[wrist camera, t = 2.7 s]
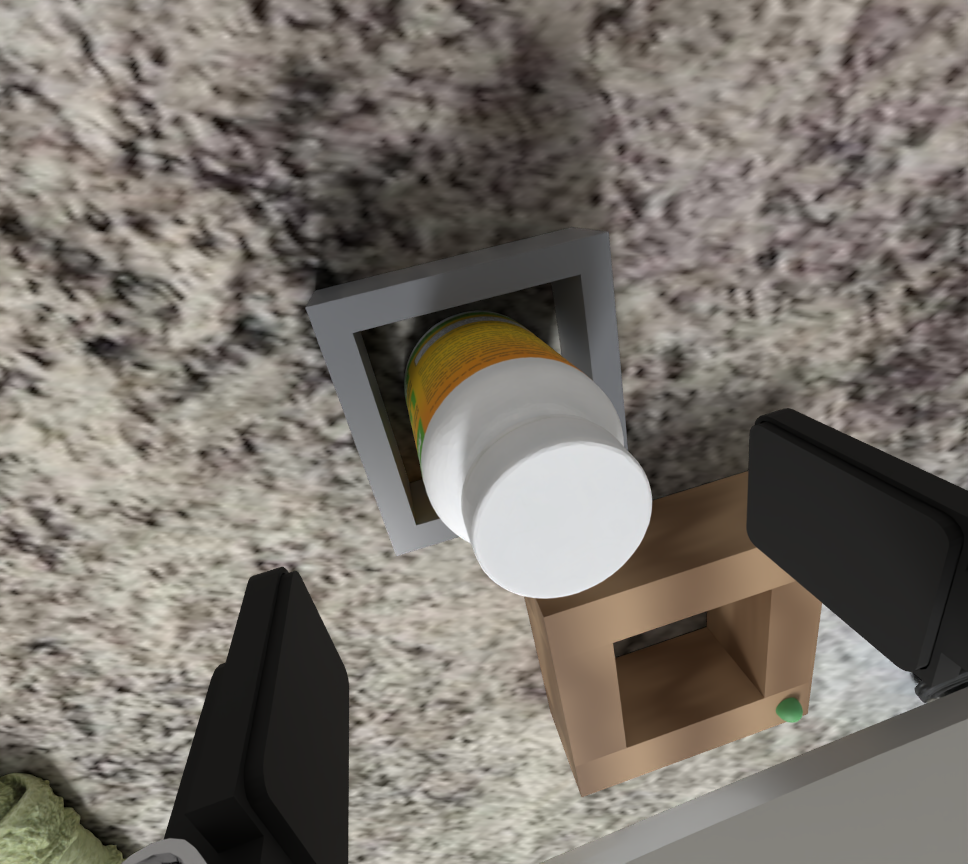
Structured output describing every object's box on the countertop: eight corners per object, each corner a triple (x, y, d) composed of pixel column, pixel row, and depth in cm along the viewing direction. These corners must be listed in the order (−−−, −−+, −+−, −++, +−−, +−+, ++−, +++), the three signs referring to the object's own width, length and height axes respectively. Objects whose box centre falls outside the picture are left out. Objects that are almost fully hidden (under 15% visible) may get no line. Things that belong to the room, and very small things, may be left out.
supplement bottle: (373, 358, 18) (382, 502, 9) (503, 279, 18) (634, 351, 9) (449, 468, 20) (512, 662, 12) (564, 399, 20) (713, 545, 12)
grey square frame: (571, 227, 18) (608, 231, 15) (598, 449, 22) (630, 484, 19) (314, 290, 17) (305, 307, 14) (392, 510, 21) (396, 556, 18)
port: (754, 469, 24) (847, 533, 19) (746, 643, 29) (818, 726, 25) (512, 544, 23) (549, 631, 18) (550, 712, 28) (587, 813, 23)
